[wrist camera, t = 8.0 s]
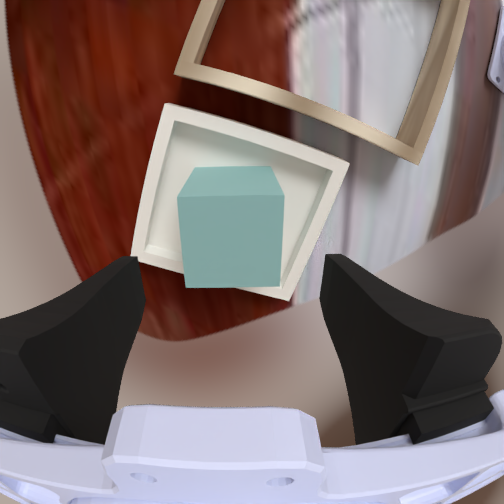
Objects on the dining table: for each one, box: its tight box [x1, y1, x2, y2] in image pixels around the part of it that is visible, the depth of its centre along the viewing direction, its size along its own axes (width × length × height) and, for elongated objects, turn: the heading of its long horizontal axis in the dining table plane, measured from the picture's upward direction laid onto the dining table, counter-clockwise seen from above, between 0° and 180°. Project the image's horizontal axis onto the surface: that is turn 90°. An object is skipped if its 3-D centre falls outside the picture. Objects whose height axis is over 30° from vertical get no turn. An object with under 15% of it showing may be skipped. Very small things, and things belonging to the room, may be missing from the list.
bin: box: [174, 0, 470, 165], centre depth 13 cm, size 15×15×2 cm
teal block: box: [177, 166, 285, 288], centre depth 17 cm, size 4×4×6 cm
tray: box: [131, 103, 350, 301], centre depth 19 cm, size 11×10×2 cm
